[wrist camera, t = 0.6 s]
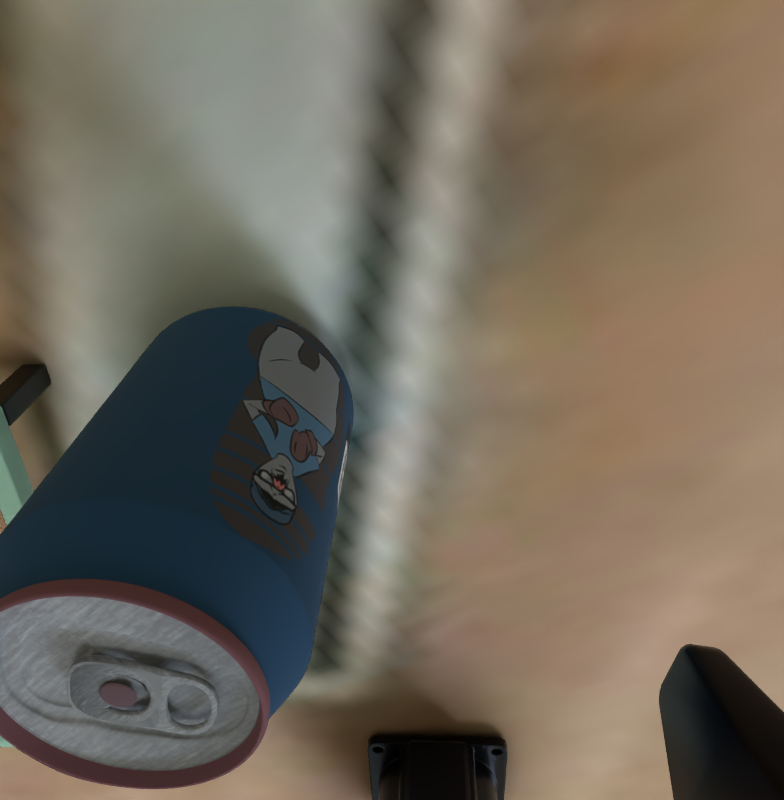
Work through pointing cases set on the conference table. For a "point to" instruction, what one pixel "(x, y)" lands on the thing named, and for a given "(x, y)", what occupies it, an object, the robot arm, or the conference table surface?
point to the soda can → (177, 557)
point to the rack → (3, 467)
